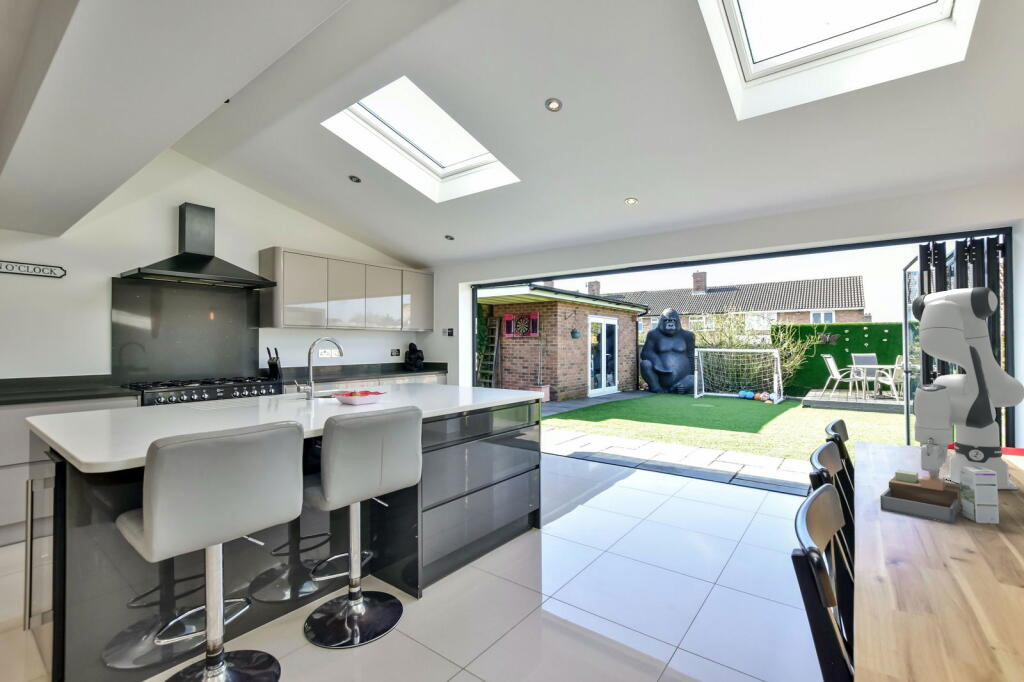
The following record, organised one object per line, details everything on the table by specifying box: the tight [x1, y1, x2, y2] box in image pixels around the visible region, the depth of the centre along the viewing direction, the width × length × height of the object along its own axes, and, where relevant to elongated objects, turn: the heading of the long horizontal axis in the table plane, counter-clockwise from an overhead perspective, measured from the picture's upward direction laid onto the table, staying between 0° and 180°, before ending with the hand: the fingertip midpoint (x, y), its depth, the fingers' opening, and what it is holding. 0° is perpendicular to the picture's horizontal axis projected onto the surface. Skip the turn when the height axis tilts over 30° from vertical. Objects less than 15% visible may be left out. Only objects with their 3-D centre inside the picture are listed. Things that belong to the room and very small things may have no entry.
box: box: [880, 487, 959, 524], centre depth 139 cm, size 12×16×4 cm
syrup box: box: [959, 466, 1000, 525], centre depth 132 cm, size 6×6×14 cm
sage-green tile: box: [894, 469, 919, 483], centre depth 152 cm, size 5×5×2 cm
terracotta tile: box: [920, 475, 946, 491], centre depth 143 cm, size 5×5×2 cm
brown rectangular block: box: [888, 476, 961, 513], centre depth 147 cm, size 12×16×6 cm
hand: (934, 481), depth 146 cm, fingers closed
